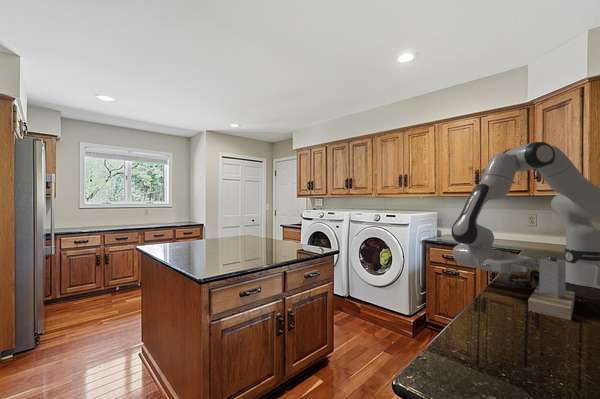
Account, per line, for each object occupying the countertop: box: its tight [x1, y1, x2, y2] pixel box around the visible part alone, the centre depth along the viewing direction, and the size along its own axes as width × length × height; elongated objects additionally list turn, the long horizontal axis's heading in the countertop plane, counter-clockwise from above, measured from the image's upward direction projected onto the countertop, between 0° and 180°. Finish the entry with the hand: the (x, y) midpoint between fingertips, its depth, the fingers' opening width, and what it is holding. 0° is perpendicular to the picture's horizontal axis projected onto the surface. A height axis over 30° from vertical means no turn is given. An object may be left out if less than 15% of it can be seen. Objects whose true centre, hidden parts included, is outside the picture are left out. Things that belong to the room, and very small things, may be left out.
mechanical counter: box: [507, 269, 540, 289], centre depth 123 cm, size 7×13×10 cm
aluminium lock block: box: [539, 255, 567, 299], centre depth 97 cm, size 5×5×13 cm
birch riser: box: [527, 286, 575, 321], centre depth 97 cm, size 22×10×4 cm, turn 135°
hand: (534, 268), depth 102 cm, fingers open, 8 cm apart
